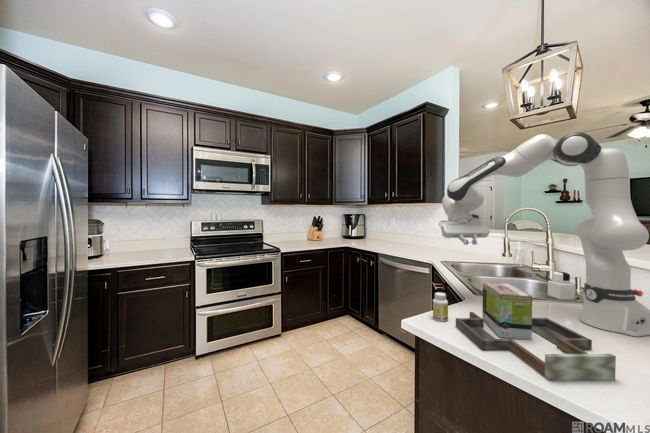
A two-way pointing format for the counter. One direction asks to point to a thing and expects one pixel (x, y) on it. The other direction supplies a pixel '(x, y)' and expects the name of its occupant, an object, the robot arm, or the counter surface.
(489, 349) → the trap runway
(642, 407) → the counter surface
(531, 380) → the counter surface
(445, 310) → the supplement bottle
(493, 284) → the tea box
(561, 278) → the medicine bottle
